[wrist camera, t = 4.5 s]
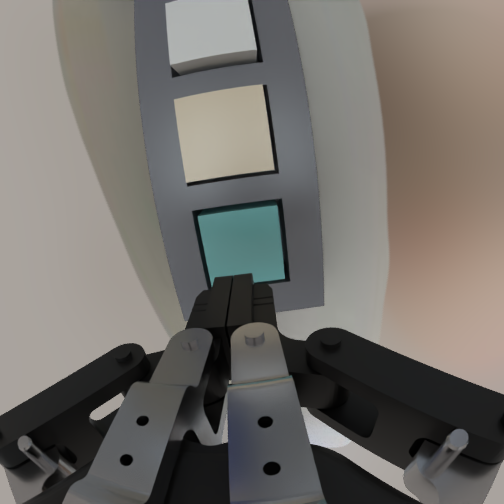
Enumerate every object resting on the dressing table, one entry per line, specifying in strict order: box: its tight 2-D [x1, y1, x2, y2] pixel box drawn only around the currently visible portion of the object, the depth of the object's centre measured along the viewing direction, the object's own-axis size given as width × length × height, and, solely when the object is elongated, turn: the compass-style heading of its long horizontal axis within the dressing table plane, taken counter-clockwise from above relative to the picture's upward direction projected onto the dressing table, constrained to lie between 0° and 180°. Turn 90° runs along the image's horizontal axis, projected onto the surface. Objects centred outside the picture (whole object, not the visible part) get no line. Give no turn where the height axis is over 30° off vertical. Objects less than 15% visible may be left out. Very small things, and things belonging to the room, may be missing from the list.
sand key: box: [174, 84, 274, 183], centre depth 15 cm, size 5×5×4 cm
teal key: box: [198, 199, 285, 286], centre depth 19 cm, size 5×5×4 cm
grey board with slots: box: [134, 0, 324, 321], centre depth 17 cm, size 24×10×4 cm, turn 8°
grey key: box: [165, 0, 257, 76], centre depth 13 cm, size 5×5×4 cm
